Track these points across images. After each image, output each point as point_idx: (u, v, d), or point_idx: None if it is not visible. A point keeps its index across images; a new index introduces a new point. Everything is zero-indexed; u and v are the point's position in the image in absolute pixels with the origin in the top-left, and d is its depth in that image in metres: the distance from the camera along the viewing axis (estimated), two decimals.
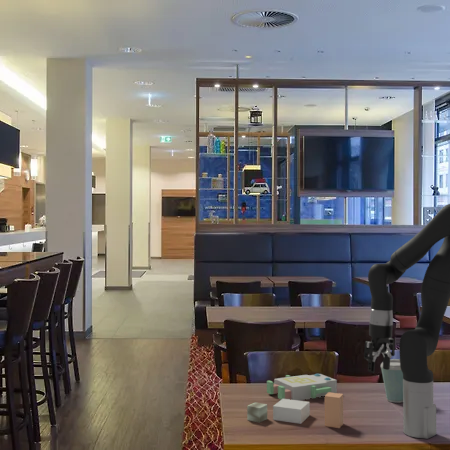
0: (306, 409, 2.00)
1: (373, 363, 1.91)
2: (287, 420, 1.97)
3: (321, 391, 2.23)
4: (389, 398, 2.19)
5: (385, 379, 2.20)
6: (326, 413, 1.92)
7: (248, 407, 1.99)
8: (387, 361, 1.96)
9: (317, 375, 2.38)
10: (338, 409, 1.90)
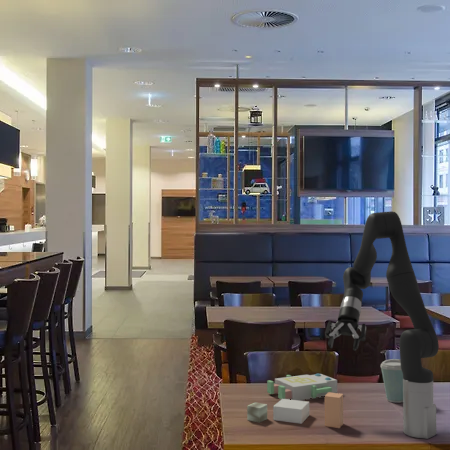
0: (306, 409, 2.00)
1: (330, 338, 2.08)
2: (288, 420, 1.97)
3: (321, 391, 2.23)
4: (389, 398, 2.19)
5: (385, 379, 2.20)
6: (326, 413, 1.92)
7: (248, 407, 1.99)
8: None
9: (318, 375, 2.38)
10: (338, 409, 1.90)
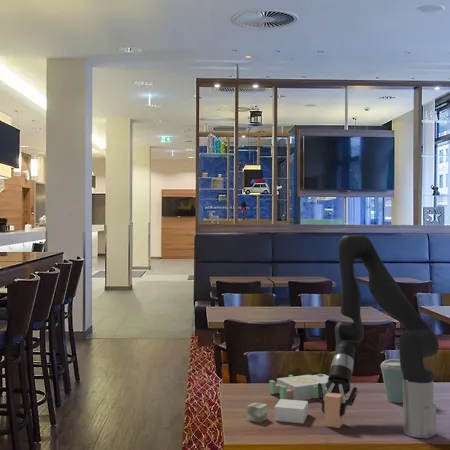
0: (306, 409, 2.01)
1: (324, 402, 1.95)
2: (289, 420, 1.96)
3: (323, 391, 2.23)
4: (389, 398, 2.19)
5: (385, 379, 2.20)
6: (326, 413, 1.92)
7: (248, 407, 1.99)
8: None
9: (320, 375, 2.38)
10: (338, 409, 1.90)
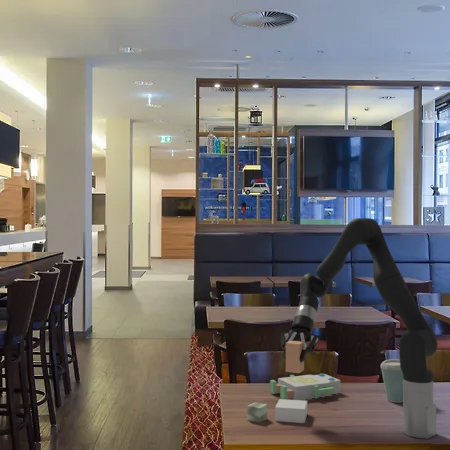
0: (306, 409, 2.01)
1: None
2: (290, 420, 1.96)
3: (324, 391, 2.23)
4: (389, 398, 2.19)
5: (385, 379, 2.20)
6: (287, 359, 2.00)
7: (248, 407, 1.99)
8: None
9: (321, 375, 2.37)
10: (298, 355, 1.98)
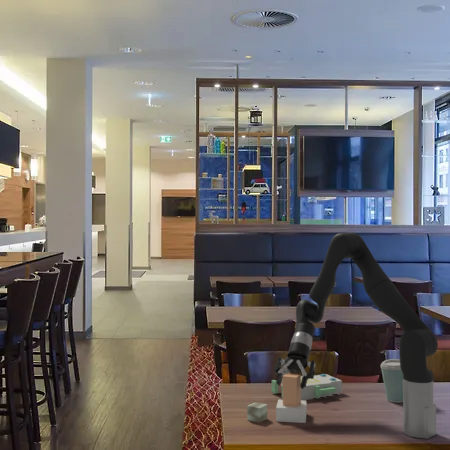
0: None
1: (279, 375, 2.04)
2: (291, 421, 1.96)
3: (325, 391, 2.23)
4: (389, 398, 2.19)
5: (385, 379, 2.20)
6: (284, 392, 2.00)
7: (248, 407, 1.99)
8: None
9: (323, 375, 2.37)
10: (295, 388, 1.98)
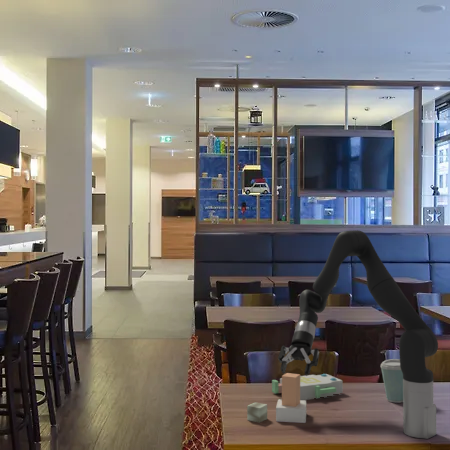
0: None
1: (283, 363, 2.08)
2: (291, 421, 1.96)
3: (325, 391, 2.23)
4: (389, 398, 2.19)
5: (385, 379, 2.20)
6: (283, 392, 2.00)
7: (248, 407, 1.99)
8: None
9: (323, 375, 2.37)
10: (294, 388, 1.98)
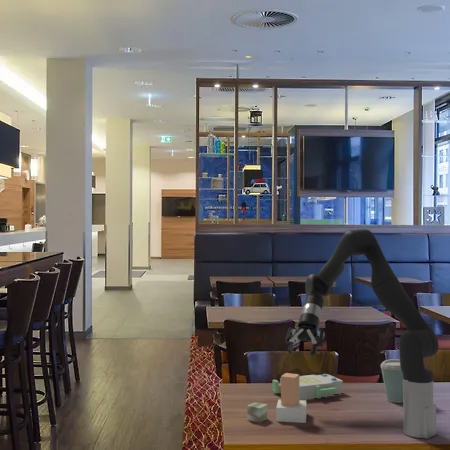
0: None
1: (290, 343, 2.15)
2: (291, 421, 1.96)
3: (326, 391, 2.23)
4: (389, 398, 2.19)
5: (385, 379, 2.20)
6: (282, 392, 2.00)
7: (248, 407, 1.99)
8: None
9: (324, 375, 2.37)
10: (293, 389, 1.98)
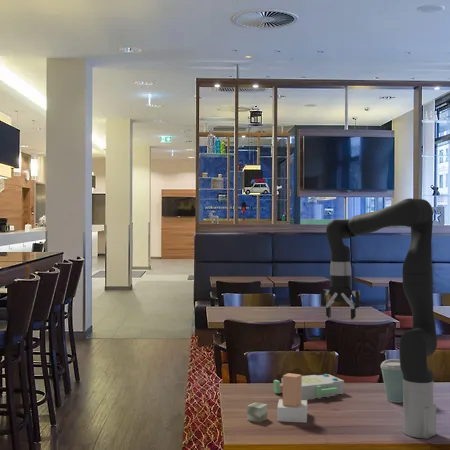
0: None
1: (327, 309, 2.12)
2: (292, 420, 1.97)
3: (327, 391, 2.23)
4: (389, 398, 2.19)
5: (385, 379, 2.20)
6: (284, 392, 2.00)
7: (248, 407, 1.99)
8: None
9: (325, 375, 2.37)
10: (295, 388, 1.98)
